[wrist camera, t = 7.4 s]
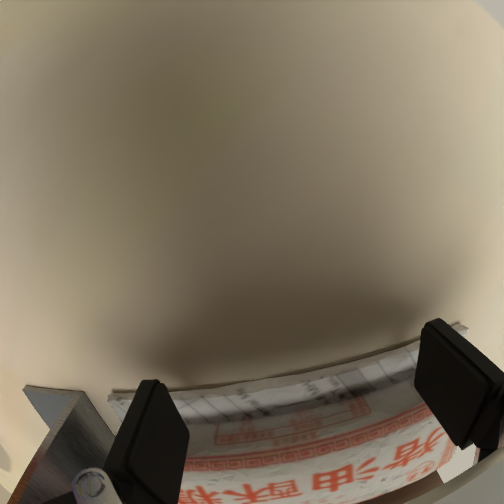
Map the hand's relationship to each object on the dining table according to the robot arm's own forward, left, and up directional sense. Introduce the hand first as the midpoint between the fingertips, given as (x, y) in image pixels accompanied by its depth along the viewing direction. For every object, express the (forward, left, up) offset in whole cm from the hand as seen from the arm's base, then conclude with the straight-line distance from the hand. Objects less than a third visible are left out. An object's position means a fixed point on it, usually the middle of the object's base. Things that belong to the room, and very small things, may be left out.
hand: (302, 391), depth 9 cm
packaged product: (+6, 0, -3) cm, 7 cm away
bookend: (+6, -14, -2) cm, 15 cm away
